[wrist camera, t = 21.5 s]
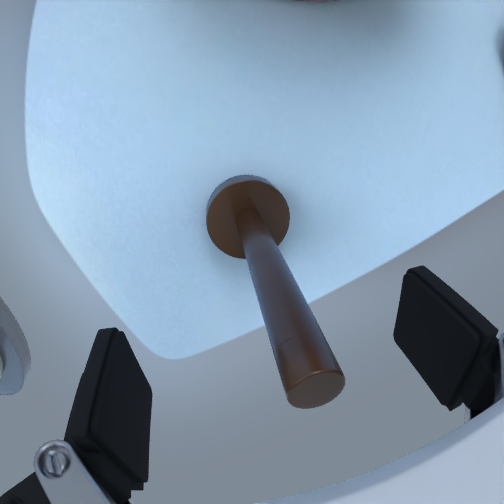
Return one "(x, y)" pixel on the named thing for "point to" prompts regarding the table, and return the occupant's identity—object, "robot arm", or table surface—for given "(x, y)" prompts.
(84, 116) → the table surface
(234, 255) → the brown disc-based tamper
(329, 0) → the bowl
